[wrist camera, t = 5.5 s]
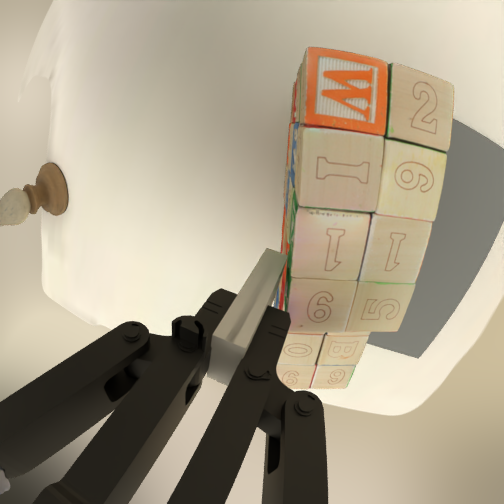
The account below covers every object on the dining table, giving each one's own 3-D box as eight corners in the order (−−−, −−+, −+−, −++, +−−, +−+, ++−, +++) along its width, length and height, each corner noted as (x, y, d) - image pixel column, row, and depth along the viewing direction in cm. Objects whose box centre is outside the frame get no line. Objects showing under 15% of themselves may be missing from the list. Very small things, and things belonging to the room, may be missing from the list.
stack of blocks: (331, 318, 28) (350, 421, 17) (272, 314, 28) (265, 421, 17) (369, 96, 18) (458, 82, 7) (291, 84, 18) (307, 41, 7)
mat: (402, 96, 17) (403, 95, 16) (520, 162, 14) (523, 163, 14) (320, 324, 29) (319, 327, 29) (418, 354, 27) (418, 358, 26)
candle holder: (40, 159, 34) (-60, 205, 17) (67, 166, 32) (-52, 222, 15) (45, 206, 38) (-45, 259, 21) (71, 219, 37) (-31, 284, 20)
